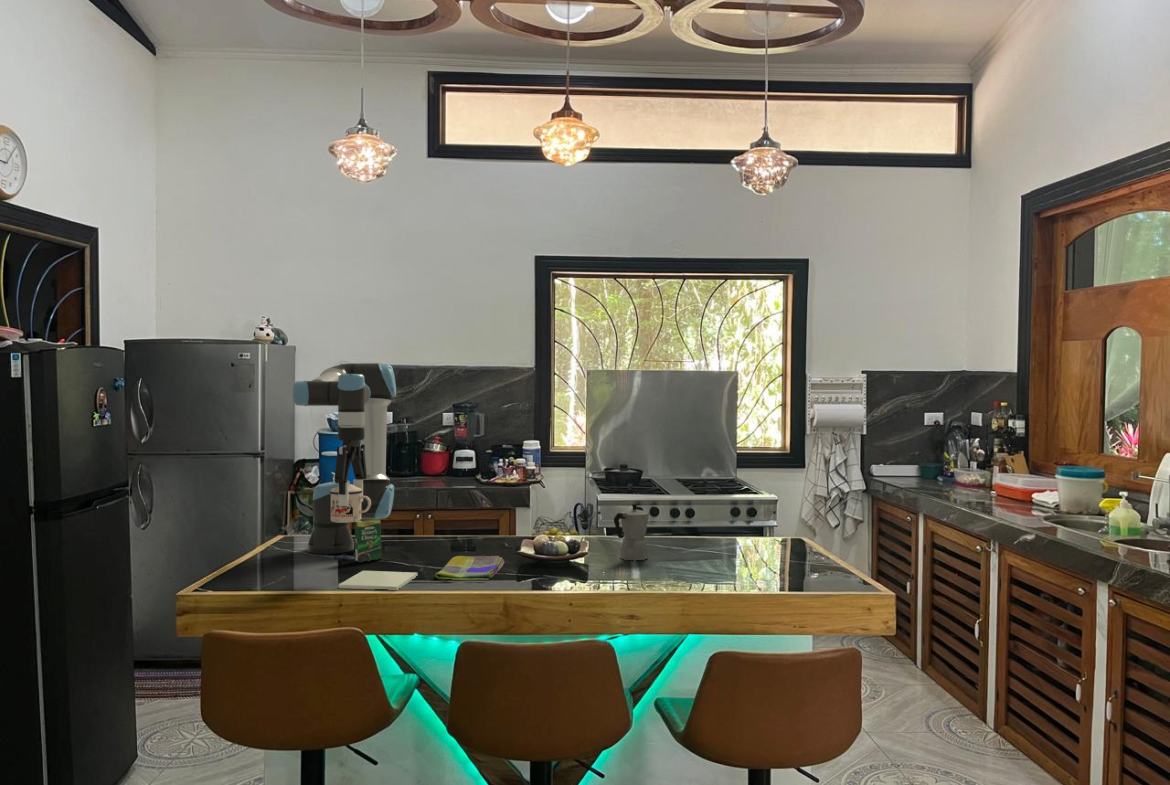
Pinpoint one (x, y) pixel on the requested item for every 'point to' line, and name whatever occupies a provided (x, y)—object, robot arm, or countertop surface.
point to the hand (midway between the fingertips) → (350, 503)
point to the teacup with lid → (348, 512)
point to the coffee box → (367, 540)
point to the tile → (378, 580)
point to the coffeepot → (633, 533)
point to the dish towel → (471, 568)
